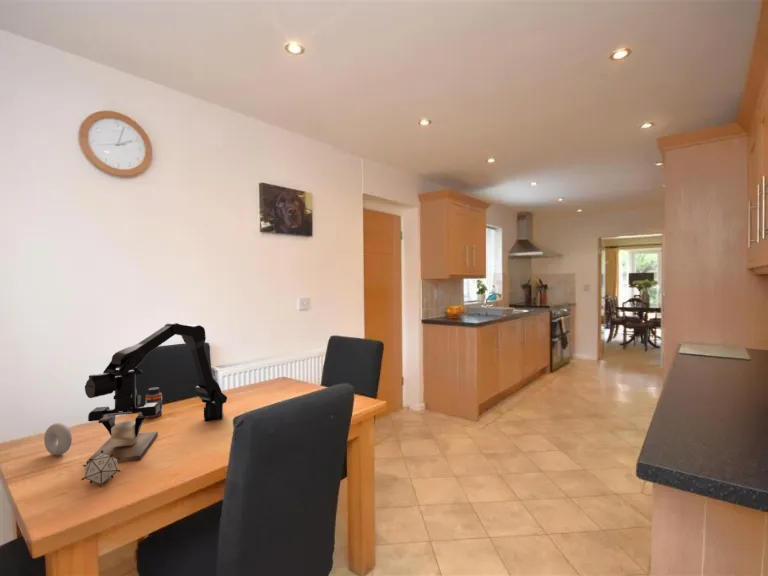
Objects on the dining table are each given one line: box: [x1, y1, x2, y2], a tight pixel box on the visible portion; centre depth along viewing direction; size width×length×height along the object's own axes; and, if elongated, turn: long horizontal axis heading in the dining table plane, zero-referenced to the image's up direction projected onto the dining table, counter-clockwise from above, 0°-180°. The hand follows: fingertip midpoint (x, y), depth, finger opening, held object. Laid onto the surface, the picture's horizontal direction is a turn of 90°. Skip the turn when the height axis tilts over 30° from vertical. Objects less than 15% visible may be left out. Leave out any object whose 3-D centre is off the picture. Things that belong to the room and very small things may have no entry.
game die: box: [80, 450, 121, 488], centre depth 103 cm, size 9×8×10 cm
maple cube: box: [110, 420, 140, 447], centre depth 124 cm, size 6×6×6 cm
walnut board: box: [85, 431, 159, 465], centre depth 124 cm, size 14×20×2 cm
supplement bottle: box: [144, 386, 163, 419], centre depth 156 cm, size 6×6×11 cm
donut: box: [43, 422, 73, 456], centre depth 120 cm, size 10×4×10 cm, turn 71°
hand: (125, 437), depth 124 cm, fingers closed on maple cube, 6 cm apart
